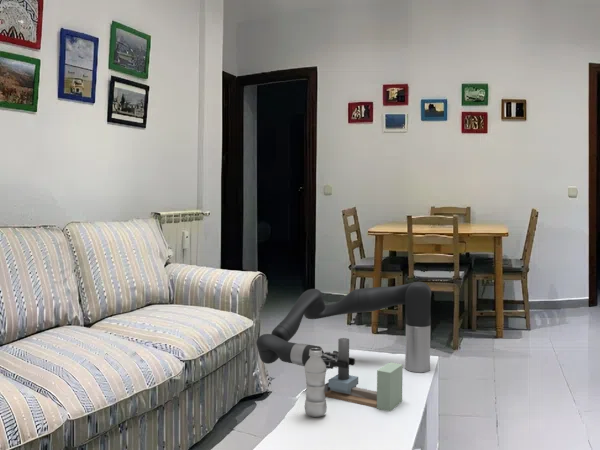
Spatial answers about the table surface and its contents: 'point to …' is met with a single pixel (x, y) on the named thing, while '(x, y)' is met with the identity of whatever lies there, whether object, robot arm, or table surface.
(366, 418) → the table surface
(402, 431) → the table surface
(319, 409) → the plastic bottle
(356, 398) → the rail
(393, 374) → the gauge cabinet
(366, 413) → the table surface
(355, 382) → the cylinder
